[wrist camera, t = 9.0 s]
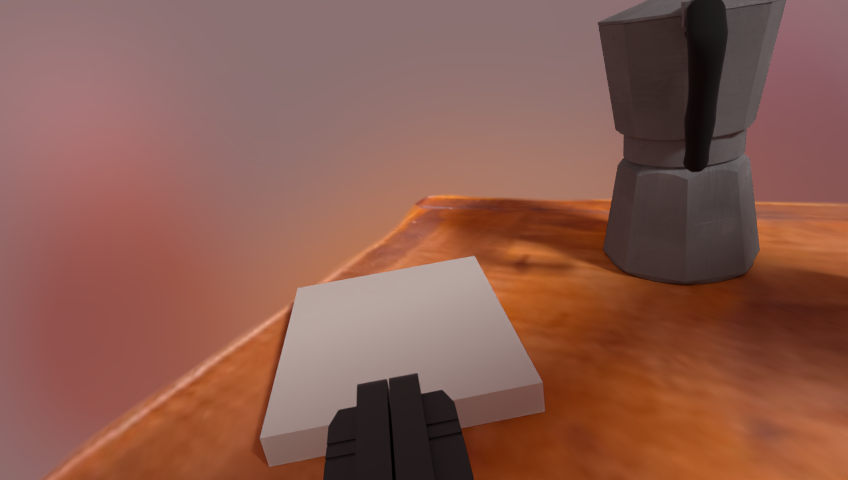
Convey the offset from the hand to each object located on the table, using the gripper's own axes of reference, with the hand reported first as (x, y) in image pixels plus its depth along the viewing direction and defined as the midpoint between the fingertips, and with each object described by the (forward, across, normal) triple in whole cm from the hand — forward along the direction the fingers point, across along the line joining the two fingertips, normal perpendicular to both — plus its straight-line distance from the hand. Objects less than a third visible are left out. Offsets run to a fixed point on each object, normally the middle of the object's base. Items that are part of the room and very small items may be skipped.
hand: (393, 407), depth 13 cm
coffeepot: (+18, -18, +8) cm, 27 cm away
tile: (+7, 0, +7) cm, 10 cm away
